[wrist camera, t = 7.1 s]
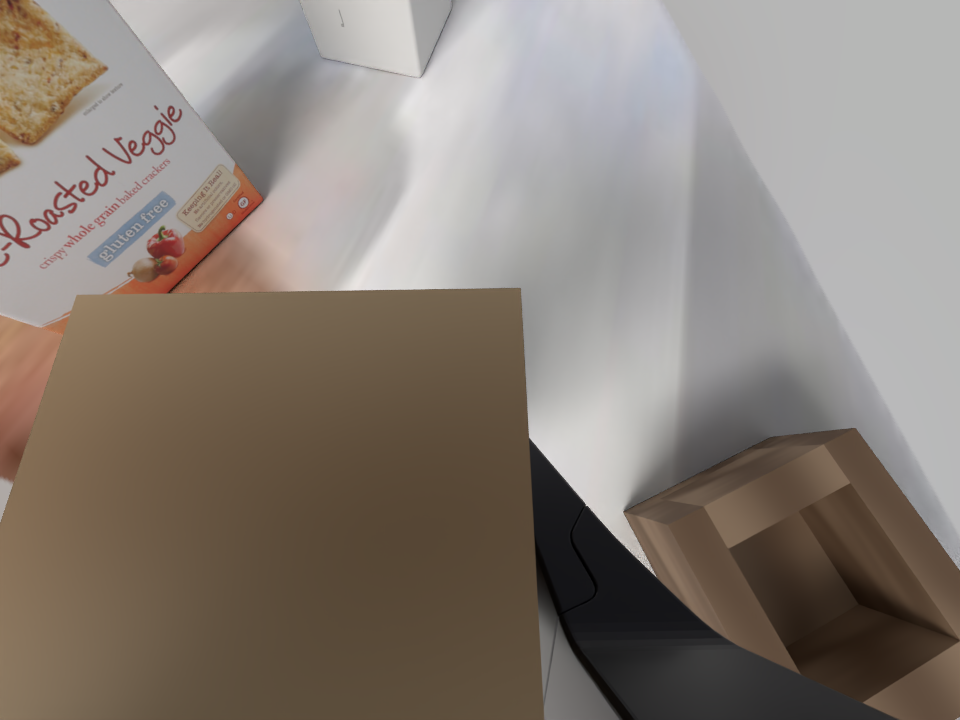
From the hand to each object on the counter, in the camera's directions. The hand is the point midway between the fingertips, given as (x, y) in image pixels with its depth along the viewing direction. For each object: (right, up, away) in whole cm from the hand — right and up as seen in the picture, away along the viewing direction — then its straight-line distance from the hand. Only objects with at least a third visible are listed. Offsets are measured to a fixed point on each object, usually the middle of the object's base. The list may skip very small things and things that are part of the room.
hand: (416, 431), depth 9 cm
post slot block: (+16, -9, +10) cm, 21 cm away
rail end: (0, -3, +6) cm, 7 cm away
